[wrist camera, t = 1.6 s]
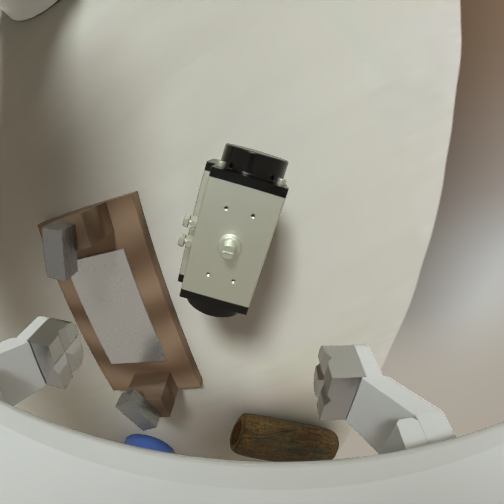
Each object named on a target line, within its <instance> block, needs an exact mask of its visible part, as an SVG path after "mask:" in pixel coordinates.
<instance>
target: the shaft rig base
mask: <svg viewBox="0 0 504 504" xmlns="http://www.w3.org/2000/svg"><path fill="white" fill-rule="evenodd" d="M55 221H60V222H67V223H75V234H76V252H77V259H80V258H85V257H89V256H93V255H97V254H101V253H105V252H110V251H114V250H118V249H122V248H125V251H126V254H127V257H128V260H129V263H130V266H131V268H132V271H133V274H134V277H135V280H136V282H137V285H138V288H139V290H140V293H141V296H142V298H143V301H144V303H145V306H146V308H147V311H148V313H149V316H150V318H151V321H152V323H153V326H154V328H155V330H156V333H157V335H158V338H159V340H160V342H161V344H162V347H163V349H164V351H165V353H166V356H167V358H168V360H166V361H153V362H138V363H120V364H111V362H110V360H109V358H108V356H107V354H106V352H105V350H104V349H103V347H102V345H101V343H100V341H99V339H98V337H97V335H96V333H95V331H94V329H93V327H92V324H91V322H90V320H89V318H88V316H87V314H86V312H85V309H84V307H83V305H82V303H81V300H80V298H79V296H78V293H77V291H76V289H75V286H74V284H73V281H72V279H71V278H69V279H68V280H67V281H62V280H58V279H57V280H58V282H59V285H60V287H61V289H62V292H63V294H64V296H65V299H66V301H67V303H68V305H69V308H70V310H71V312H72V314H73V316H74V318H75V321H76V323H77V325H78V327H79V329H80V331H81V333H82V335H83V337H84V339H85V341H86V343H87V345H88V346H89V348H90V350H91V352H92V354H93V356H94V358H95V359H96V361H97V363H98V365H99V367H100V368H101V370H102V372H103V373H104V375H105V377H106V379H107V380H108V382H109V384H110V385H111V387H112V389H113V390H127V391H129V390H132V389H135V390H136V391H137V392H138V393H139V394H140V395H141V396H143V397H144V398H145V399H146V400H147V401H148V402H149V403H150V404H151V405H152V406H153V407H154V408H156V409H157V410H158V411H159V412H160V413H161V414H160V417H170V415H171V412H172V408H173V405H174V401H175V398H176V394H177V391H178V389H179V388H194V387H201V382H202V377H201V375H200V373H199V370H198V368H197V365H196V363H195V361H194V358H193V356H192V353H191V351H190V348H189V346H188V343H187V341H186V338H185V335H184V333H183V330H182V328H181V325H180V322H179V320H178V317H177V314H176V312H175V309H174V306H173V303H172V300H171V298H170V295H169V292H168V289H167V286H166V283H165V280H164V277H163V274H162V271H161V268H160V265H159V262H158V259H157V256H156V253H155V250H154V247H153V244H152V240H151V237H150V234H149V230H148V227H147V224H146V220H145V217H144V213H143V210H142V206H141V203H140V199H139V196H138V192H137V191H136V192H133V193H129V194H126V195H123V196H119V197H116V198H113V199H110V200H106V201H103V202H100V203H97V204H94V205H91V206H88V207H85V208H82V209H79V210H76V211H73V212H70V213H67V214H64V215H61V216H58V217H56V218H53V219H50V220H47V221H45V222H43V223H41V224H39V225H38V227H39V230H40V233H41V236H42V239H43V234H42V228H43V227H45V226H47V225H49V224H51V223H53V222H55Z"/></svg>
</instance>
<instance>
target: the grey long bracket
mask: <svg viewBox="0 0 504 504" xmlns="http://www.w3.org/2000/svg"><path fill="white" fill-rule="evenodd" d="M42 234H43V246H44V256H45V264H46V272H47V277H49V278H53V279H58V280H62V281H67V280H68V279H69V278H71V279H72V281H73V284H74V286H75V289H76V291H77V293H78V296H79V298H80V300H81V303H82V305H83V307H84V309H85V312H86V314H87V316H88V318H89V320H90V322H91V324H92V327H93V329H94V331H95V333H96V335H97V337H98V339H99V341H100V343H101V345H102V347H103V349H104V350H105V352H106V354H107V356H108V358H109V360H110V362H111V364H120V363H138V362H153V361H166V360H168V358H167V356H166V353H165V351H164V349H163V347H162V344H161V342H160V340H159V338H158V335H157V333H156V330H155V328H154V326H153V323H152V321H151V318H150V316H149V313H148V311H147V308H146V306H145V303H144V301H143V298H142V296H141V293H140V290H139V288H138V285H137V282H136V280H135V277H134V274H133V271H132V268H131V266H130V263H129V260H128V257H127V254H126V251H125V248H122V249H118V250H114V251H110V252H105V253H101V254H97V255H93V256H89V257H85V258H80V259H77V252H76V234H75V223H67V222H60V221H55V222H53V223H51V224H49V225H47V226H45V227H43V228H42ZM116 407H117V408H118V409H119V410H120V411H121V412H122V413H123V414H124V415H125V416H127V417H128V418H129V419H130V420H131V421H132V422H134V423H135V424H136V425H137V426H138V427H139V428H141V429H142V430H143V431H144V430H148V429H151V428H155V427H157V424H158V421H159V417H160V414H161V413H160V412H159V411H158V410H157V409H156V408H154V407H153V406H152V405H151V404H150V403H149V402H148V401H147V400H146V399H145V398H144V397H143V396H141V395H140V394H139V393H138V392H137V391H136V390H135V389H132V390H129V391H126V392H124V393H122V394H121V396H120V398H119V400H118V402H117V405H116Z"/></svg>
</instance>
